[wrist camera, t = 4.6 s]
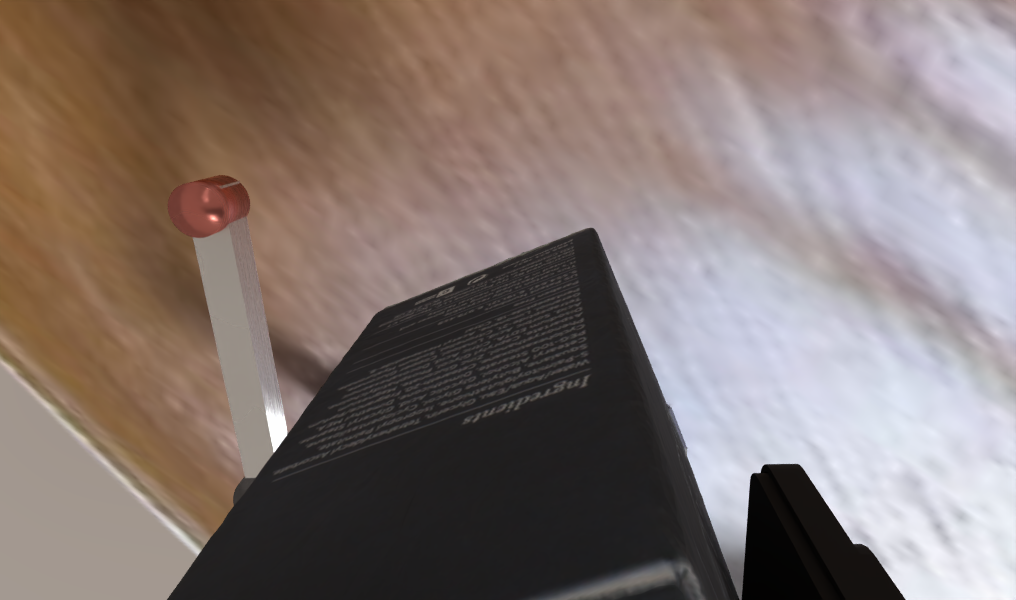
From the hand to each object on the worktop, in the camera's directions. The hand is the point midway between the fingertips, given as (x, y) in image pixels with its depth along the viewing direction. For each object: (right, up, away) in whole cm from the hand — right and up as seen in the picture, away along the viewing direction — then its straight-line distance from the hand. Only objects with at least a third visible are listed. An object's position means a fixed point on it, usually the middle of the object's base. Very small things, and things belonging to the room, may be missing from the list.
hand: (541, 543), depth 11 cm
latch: (-9, +2, +11) cm, 14 cm away
